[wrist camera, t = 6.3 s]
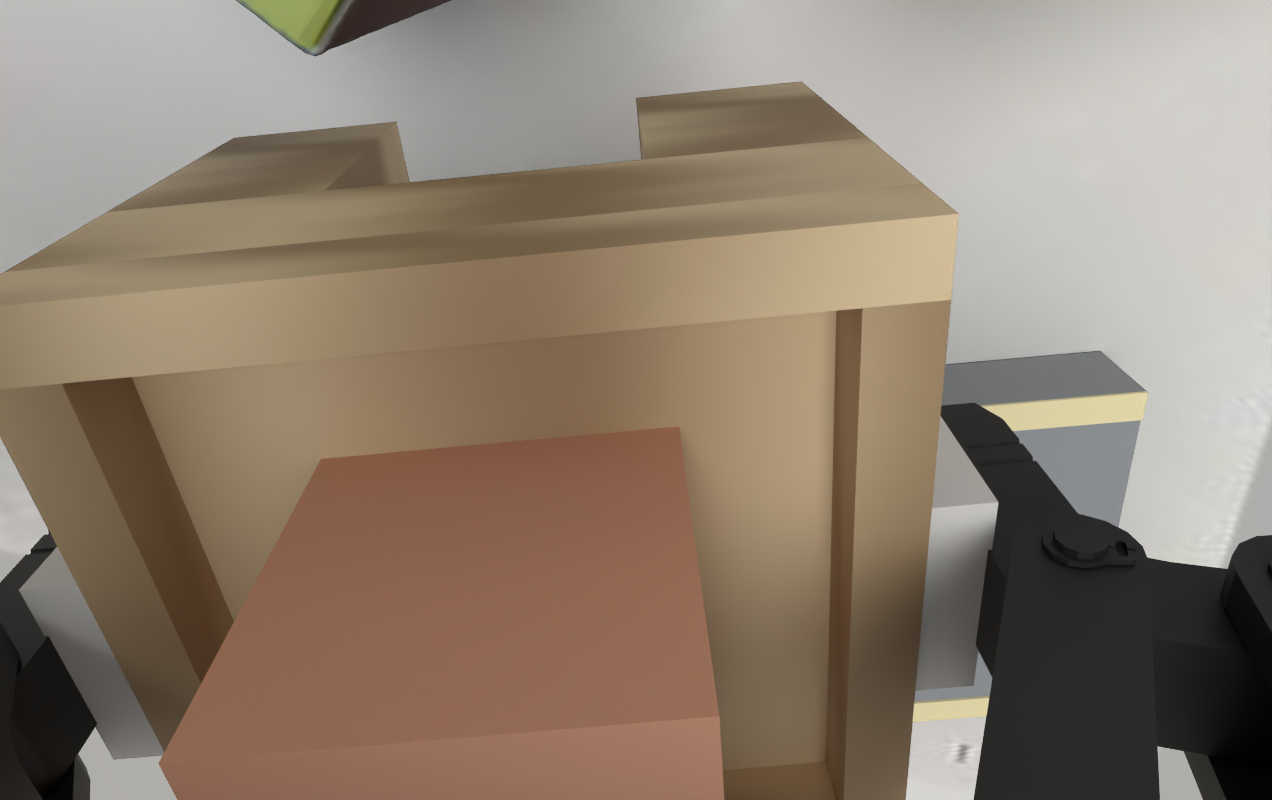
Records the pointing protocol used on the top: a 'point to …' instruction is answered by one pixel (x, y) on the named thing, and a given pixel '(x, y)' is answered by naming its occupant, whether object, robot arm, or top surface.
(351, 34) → the protein box
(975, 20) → the top surface
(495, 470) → the salmon pink cube
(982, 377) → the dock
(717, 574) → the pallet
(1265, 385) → the top surface
